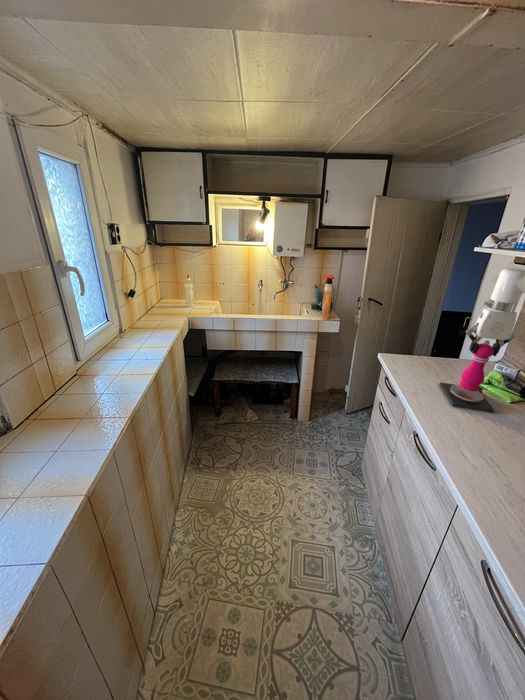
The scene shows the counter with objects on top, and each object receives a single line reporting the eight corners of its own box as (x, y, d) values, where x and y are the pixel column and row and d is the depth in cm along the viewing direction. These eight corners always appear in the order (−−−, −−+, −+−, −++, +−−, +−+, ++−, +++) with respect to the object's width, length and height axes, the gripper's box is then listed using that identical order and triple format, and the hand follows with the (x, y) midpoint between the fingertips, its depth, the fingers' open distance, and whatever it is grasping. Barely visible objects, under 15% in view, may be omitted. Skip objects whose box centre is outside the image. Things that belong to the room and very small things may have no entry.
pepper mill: (457, 388, 109) (475, 340, 101) (458, 380, 115) (475, 335, 106) (479, 394, 105) (500, 346, 97) (479, 386, 111) (499, 339, 103)
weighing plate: (475, 388, 115) (476, 387, 115) (488, 404, 105) (488, 402, 105) (446, 384, 117) (446, 383, 117) (455, 399, 108) (456, 397, 107)
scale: (476, 390, 120) (479, 384, 118) (494, 413, 105) (498, 406, 104) (439, 385, 123) (441, 379, 121) (452, 406, 108) (454, 399, 107)
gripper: (478, 306, 95) (460, 354, 102) (537, 311, 91) (514, 361, 99) (468, 300, 101) (452, 346, 109) (524, 305, 98) (503, 352, 105)
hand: (482, 353), depth 104 cm, fingers closed on pepper mill, 6 cm apart
